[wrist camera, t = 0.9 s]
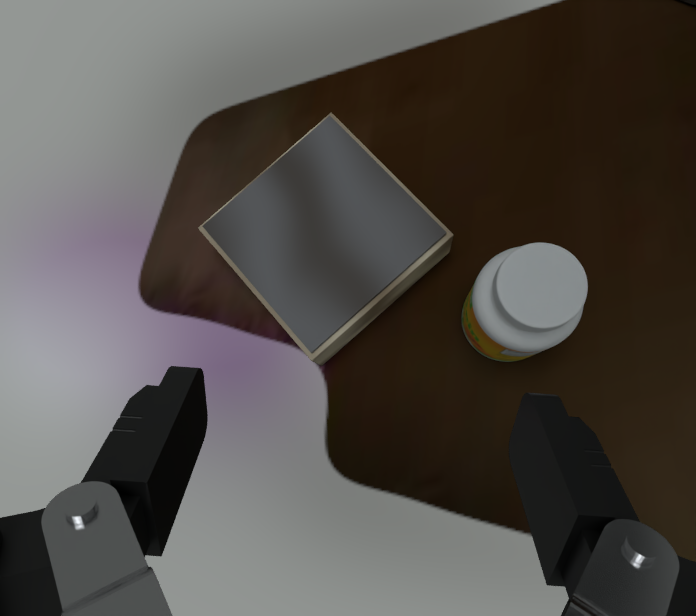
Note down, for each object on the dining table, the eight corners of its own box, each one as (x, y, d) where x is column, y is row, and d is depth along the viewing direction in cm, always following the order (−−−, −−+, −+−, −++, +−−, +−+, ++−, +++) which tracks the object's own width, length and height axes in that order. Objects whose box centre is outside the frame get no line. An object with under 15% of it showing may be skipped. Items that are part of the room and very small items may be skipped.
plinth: (338, 140, 37) (330, 109, 33) (449, 252, 34) (454, 232, 30) (218, 245, 36) (195, 225, 32) (321, 365, 34) (310, 360, 30)
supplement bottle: (456, 281, 34) (474, 232, 24) (543, 274, 33) (595, 220, 24) (465, 365, 33) (486, 348, 23) (554, 359, 32) (614, 339, 23)
